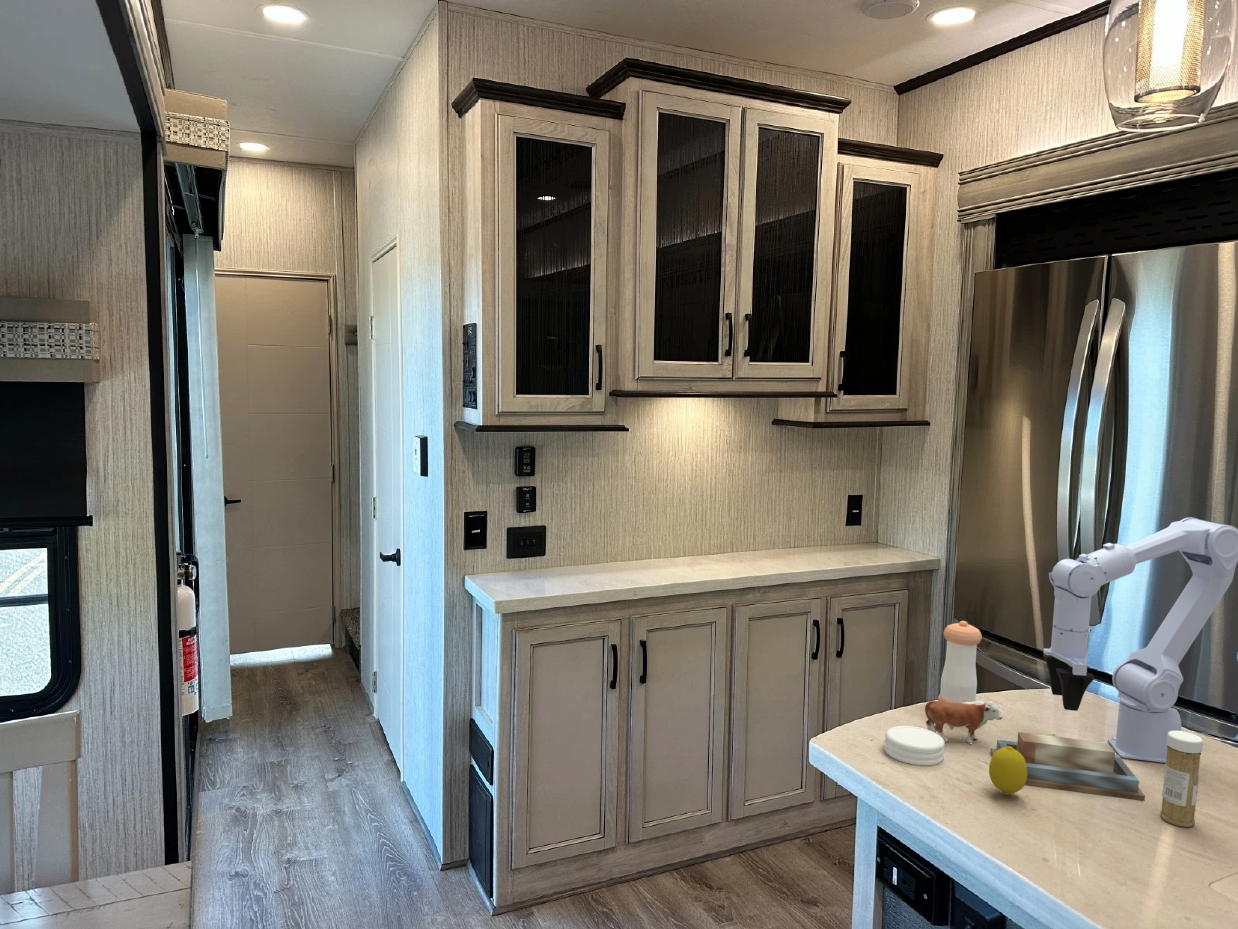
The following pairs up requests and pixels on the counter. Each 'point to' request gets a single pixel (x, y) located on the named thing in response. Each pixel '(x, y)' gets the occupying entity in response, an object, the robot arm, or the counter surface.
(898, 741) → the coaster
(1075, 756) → the two-tone wooden block
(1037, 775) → the tray
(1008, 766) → the lemon
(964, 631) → the pepper shaker
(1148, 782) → the counter surface
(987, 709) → the bull figurine
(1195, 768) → the spice jar
